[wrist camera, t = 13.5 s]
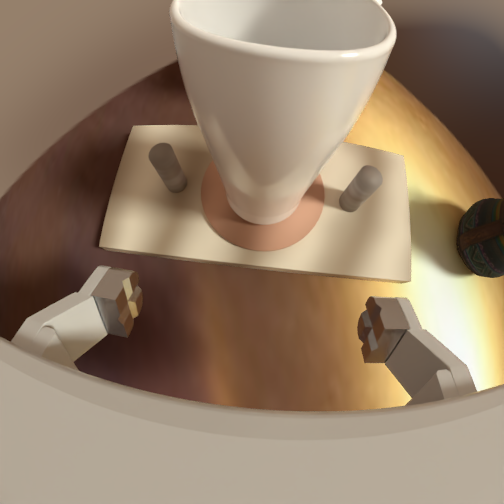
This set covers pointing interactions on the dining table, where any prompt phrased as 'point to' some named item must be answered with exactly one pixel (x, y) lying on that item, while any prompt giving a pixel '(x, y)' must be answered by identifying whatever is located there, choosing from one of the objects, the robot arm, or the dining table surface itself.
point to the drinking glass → (277, 89)
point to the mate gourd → (483, 238)
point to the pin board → (254, 235)
